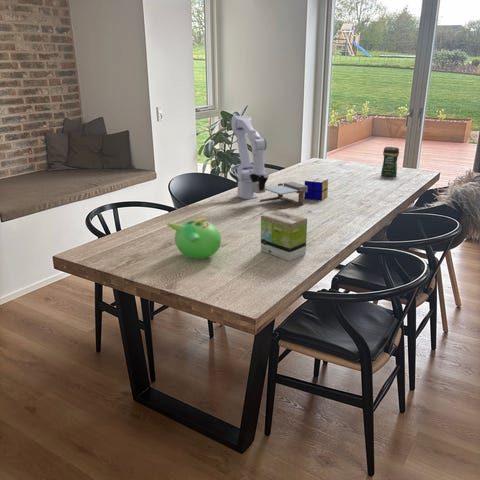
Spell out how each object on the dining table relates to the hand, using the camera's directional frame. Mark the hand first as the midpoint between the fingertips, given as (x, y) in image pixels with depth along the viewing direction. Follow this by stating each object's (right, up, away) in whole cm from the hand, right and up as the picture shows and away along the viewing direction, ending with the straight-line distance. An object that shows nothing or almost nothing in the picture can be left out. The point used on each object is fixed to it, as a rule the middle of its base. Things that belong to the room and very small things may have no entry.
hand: (258, 189), depth 252 cm
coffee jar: (+87, +15, +65) cm, 110 cm away
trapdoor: (+15, -1, +4) cm, 15 cm away
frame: (+12, -7, +4) cm, 15 cm away
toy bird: (-26, -33, -68) cm, 79 cm away
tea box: (+7, -31, -65) cm, 73 cm away
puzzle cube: (+32, -3, +14) cm, 35 cm away
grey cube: (0, -1, 0) cm, 2 cm away
